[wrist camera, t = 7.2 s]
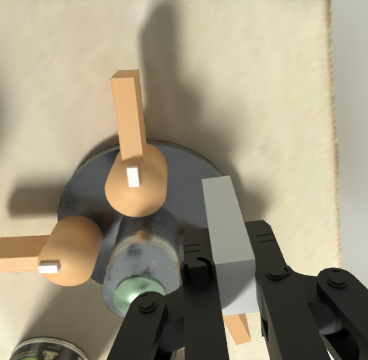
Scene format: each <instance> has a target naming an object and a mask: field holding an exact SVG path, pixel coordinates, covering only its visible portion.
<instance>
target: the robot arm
mask: <svg viewBox="0 0 368 360" xmlns="http://www.w3.org/2000/svg"><path fill="white" fill-rule="evenodd" d="M202 185H203V192H204V199H205V206H206V214H207V221H208V228H202V229H195V230H187V232H186V234H185V236H184V237H183V246H184V247H183V248H184V261H183V262H182V263H181V265H180V274H181V279H182V284H181V286H180V287H179V288H178V289H176V290H175V291H173V292H171V293H169V294H166V295H164V296H163V295H162V294H160V293H159V292H155V291H146V292H144V293H141V294H139V295H138V296H137V297H135V298H134V299H133V301H132V302H131V304H130V306H129V309H128V311H127V313H126V316H125V318H124V320H123V323H122V325H121V327H120V330H119V332H118V334H117V337H116V339H115V341H114V343H113V346H112V348H111V350H110V353H109V355H108V357H107V360H175V357H176V350H178V349H180V348H183V347H185V360H229V354H228V348H227V341H226V334H225V328H224V321H223V316H226V315H234V314H243V313H251V312H259V311H258V307H259V310H260V315H261V332H262V337H263V336H264V337H265V341H266V345H267V349H268V353H269V356H270V360H331V359H330V356H329V354H328V351H329V353H330V354H331V355H332V357H333V358H334V360H368V289H367V288H366V287H365V286H364V285H363V284H362V283H361V282H359V280H358V279H357V278H355V276H354V275H352V274H351V273H349V272H348V271H346V270H343V269H340V268H326V269H324V270H322V271H320V273H319V274H318V276H308V275H303V274H299V273H297V272H295V271H293V270H292V269H291V267H290V266H288V265H287V264H286V262H285V260H284V258H283V255H282V253H281V250H280V248H279V245H278V243H277V241H276V238H275V236H274V234H273V231H272V229H271V226H270V225H269V224H268V223H266V222H265V221H264V220H258V221H250V222H244V220H243V217H242V214H241V210H240V207H239V204H238V201H237V197H236V194H235V191H234V187H233V184H232V181H231V177H230V175H229V176H222V177H214V178H207V179H202ZM327 350H328V351H327Z"/></svg>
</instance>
